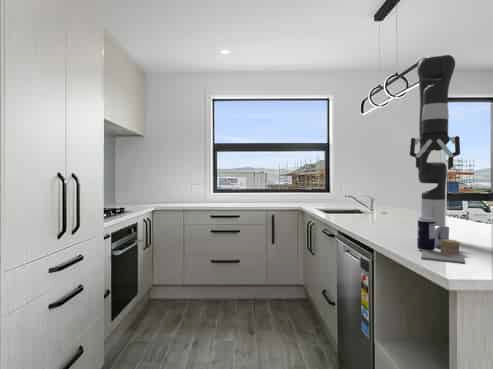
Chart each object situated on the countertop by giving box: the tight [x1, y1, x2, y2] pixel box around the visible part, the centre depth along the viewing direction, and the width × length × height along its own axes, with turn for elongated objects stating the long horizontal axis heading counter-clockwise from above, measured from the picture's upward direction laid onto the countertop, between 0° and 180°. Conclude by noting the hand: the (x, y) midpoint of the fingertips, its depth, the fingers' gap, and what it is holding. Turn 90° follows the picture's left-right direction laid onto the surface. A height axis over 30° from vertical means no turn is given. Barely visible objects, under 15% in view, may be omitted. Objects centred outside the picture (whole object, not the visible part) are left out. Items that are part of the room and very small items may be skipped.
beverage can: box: [416, 216, 436, 252], centre depth 129 cm, size 6×6×12 cm
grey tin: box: [435, 225, 450, 250], centre depth 135 cm, size 5×5×8 cm
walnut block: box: [440, 239, 460, 254], centre depth 125 cm, size 4×4×4 cm
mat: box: [420, 250, 465, 264], centre depth 118 cm, size 12×12×1 cm
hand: (433, 169), depth 115 cm, fingers open, 8 cm apart
